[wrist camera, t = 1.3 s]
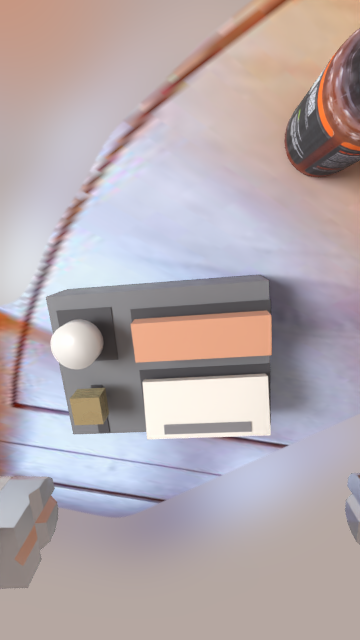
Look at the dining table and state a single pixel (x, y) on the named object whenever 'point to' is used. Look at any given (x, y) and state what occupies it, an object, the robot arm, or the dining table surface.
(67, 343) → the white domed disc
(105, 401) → the slider knob
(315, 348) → the dining table surface
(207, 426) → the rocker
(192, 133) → the dining table surface
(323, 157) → the supplement bottle
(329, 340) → the dining table surface
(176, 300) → the panel
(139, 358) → the terracotta button
